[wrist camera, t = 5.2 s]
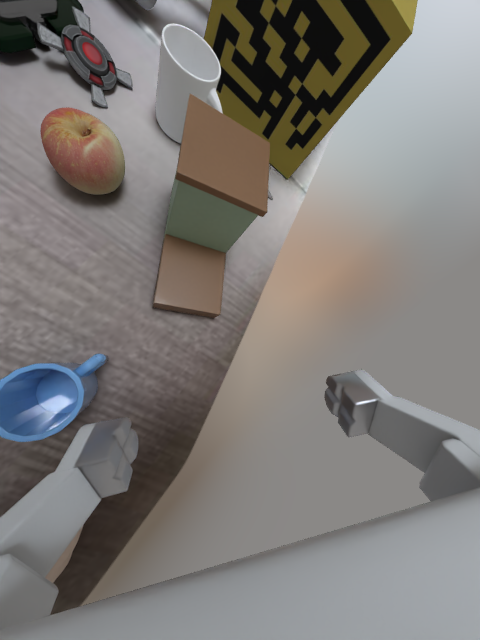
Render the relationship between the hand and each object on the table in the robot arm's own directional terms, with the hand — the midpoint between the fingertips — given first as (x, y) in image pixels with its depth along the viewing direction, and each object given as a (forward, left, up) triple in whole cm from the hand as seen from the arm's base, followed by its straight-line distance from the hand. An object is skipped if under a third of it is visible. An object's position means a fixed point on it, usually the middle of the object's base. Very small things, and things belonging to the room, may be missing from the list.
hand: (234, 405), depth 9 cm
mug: (-2, +44, -26) cm, 51 cm away
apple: (-14, +28, -26) cm, 40 cm away
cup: (-10, -1, -25) cm, 27 cm away
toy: (-17, +46, -24) cm, 55 cm away
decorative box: (+16, +67, -25) cm, 73 cm away
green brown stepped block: (+2, +20, -25) cm, 33 cm away
